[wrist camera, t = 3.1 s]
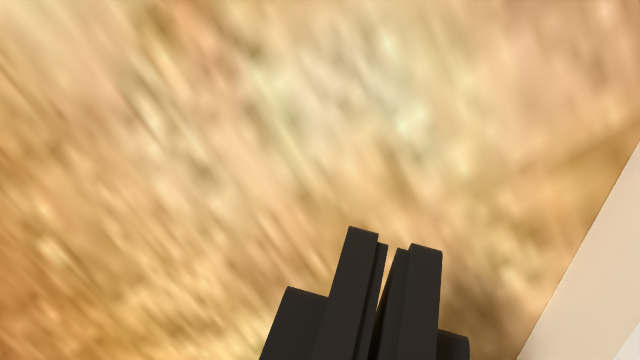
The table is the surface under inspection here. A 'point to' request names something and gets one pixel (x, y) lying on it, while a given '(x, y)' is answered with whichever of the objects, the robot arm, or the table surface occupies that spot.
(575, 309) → the flat white rectangular box
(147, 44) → the table surface
